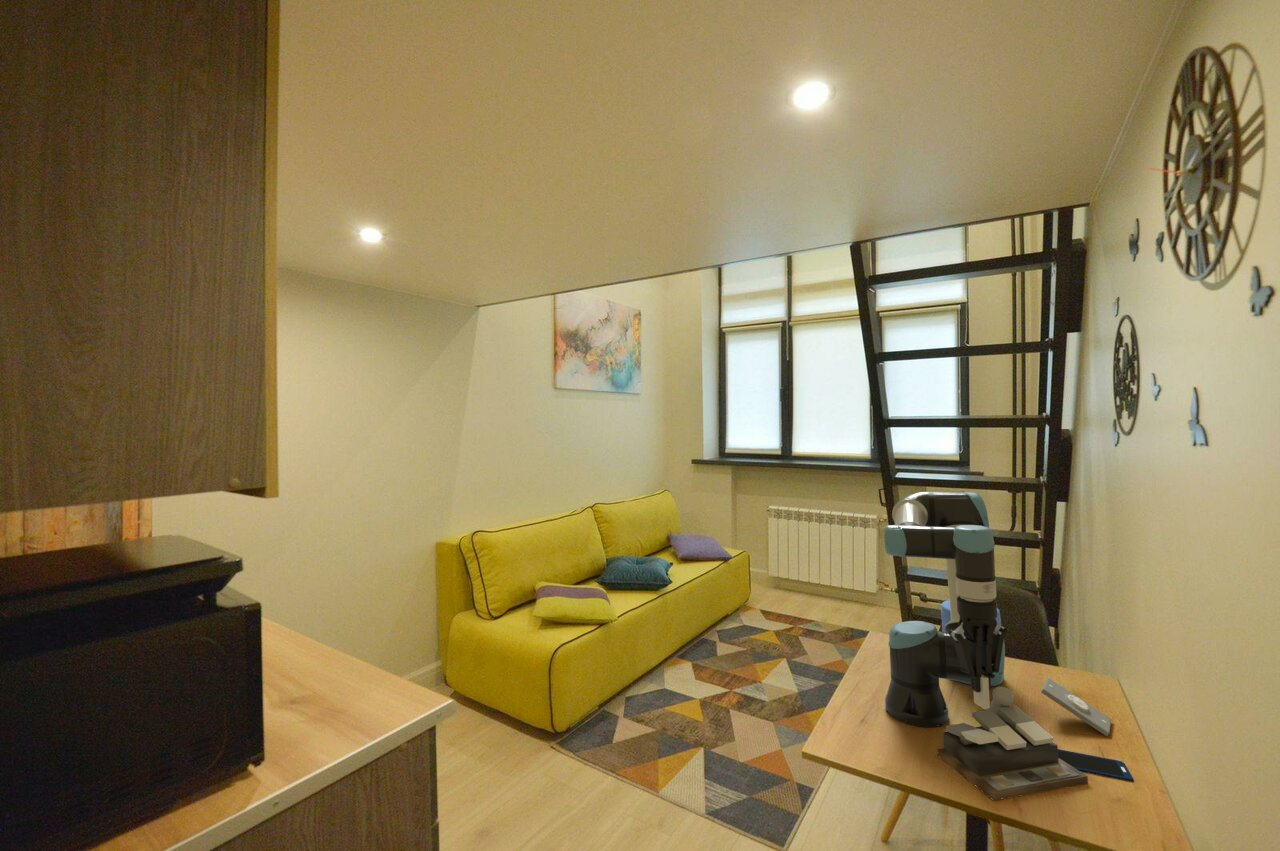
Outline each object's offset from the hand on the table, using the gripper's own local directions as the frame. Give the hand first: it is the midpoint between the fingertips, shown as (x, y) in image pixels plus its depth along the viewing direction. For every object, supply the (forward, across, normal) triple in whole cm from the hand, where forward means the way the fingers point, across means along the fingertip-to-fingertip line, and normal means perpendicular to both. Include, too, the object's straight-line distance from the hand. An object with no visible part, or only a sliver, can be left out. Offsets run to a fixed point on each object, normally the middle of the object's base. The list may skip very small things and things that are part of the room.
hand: (981, 705), depth 119 cm
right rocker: (+10, +14, +4) cm, 18 cm away
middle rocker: (+10, +7, +4) cm, 13 cm away
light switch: (+16, +39, +13) cm, 44 cm away
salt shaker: (+15, +17, +15) cm, 27 cm away
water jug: (+16, +34, +41) cm, 55 cm away
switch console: (+16, +7, +1) cm, 17 cm away
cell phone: (+16, +25, -2) cm, 30 cm away
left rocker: (+10, 0, +3) cm, 10 cm away
